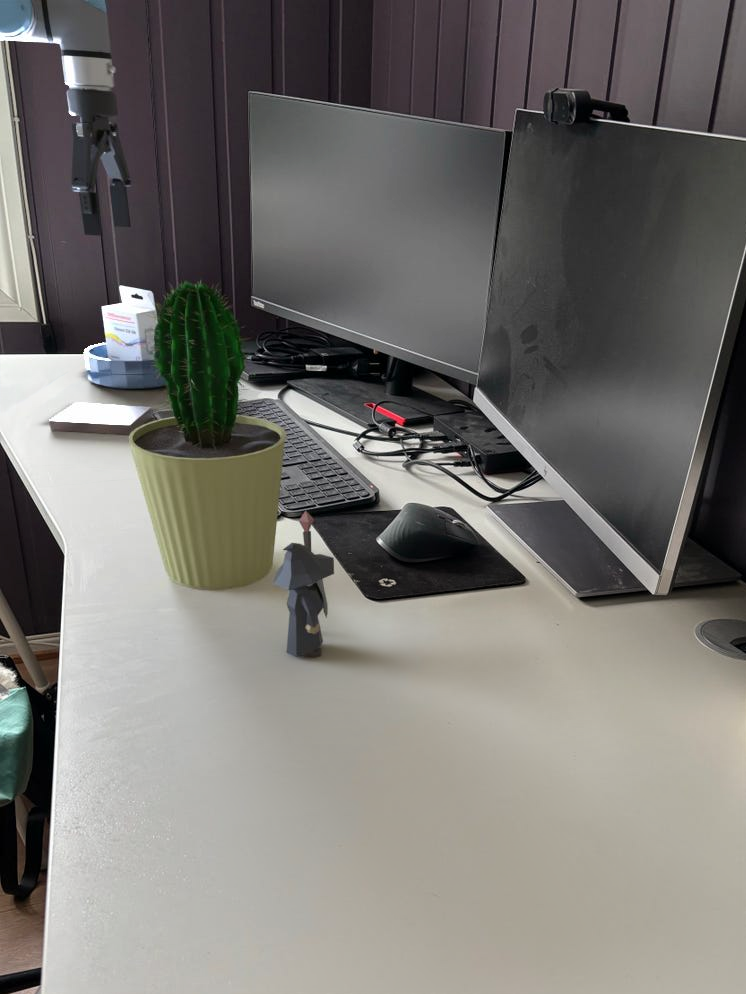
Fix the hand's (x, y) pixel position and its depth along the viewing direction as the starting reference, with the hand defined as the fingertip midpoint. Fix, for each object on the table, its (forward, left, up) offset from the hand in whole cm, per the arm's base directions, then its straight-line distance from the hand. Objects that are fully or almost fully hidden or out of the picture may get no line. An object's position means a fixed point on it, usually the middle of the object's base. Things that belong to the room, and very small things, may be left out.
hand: (108, 231), depth 165 cm
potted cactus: (+39, -83, -24) cm, 94 cm away
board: (+8, -34, -24) cm, 42 cm away
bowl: (+4, -7, -24) cm, 25 cm away
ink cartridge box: (+4, -7, -23) cm, 25 cm away
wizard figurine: (+51, -99, -24) cm, 114 cm away
